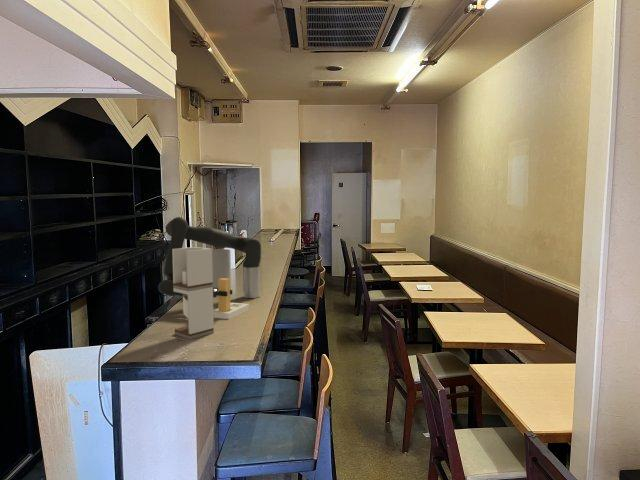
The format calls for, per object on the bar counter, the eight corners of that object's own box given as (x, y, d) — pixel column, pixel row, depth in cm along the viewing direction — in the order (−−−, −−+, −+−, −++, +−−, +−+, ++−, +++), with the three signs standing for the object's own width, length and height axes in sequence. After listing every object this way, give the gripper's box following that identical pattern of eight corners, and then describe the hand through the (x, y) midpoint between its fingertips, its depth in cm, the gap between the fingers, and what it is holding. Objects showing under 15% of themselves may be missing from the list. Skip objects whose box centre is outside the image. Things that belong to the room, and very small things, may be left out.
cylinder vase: (215, 295, 260) (215, 252, 258) (205, 292, 270) (204, 250, 267) (235, 292, 268) (234, 250, 266) (224, 289, 278) (223, 248, 276)
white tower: (198, 328, 195) (196, 246, 191) (213, 332, 188) (212, 248, 185) (174, 334, 186) (172, 249, 183) (190, 339, 179) (187, 251, 176)
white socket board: (231, 308, 230) (231, 302, 229) (249, 309, 227) (249, 304, 226) (209, 318, 211) (209, 311, 210) (229, 320, 208) (228, 313, 207)
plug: (222, 309, 216) (222, 277, 215) (230, 309, 215) (230, 278, 213) (218, 311, 212) (218, 279, 211) (225, 311, 211) (225, 279, 210)
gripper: (188, 285, 210) (221, 287, 205) (205, 280, 224) (237, 282, 218) (189, 301, 211) (221, 304, 206) (206, 295, 224) (237, 297, 219)
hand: (229, 293), depth 212 cm, fingers closed on plug, 4 cm apart
